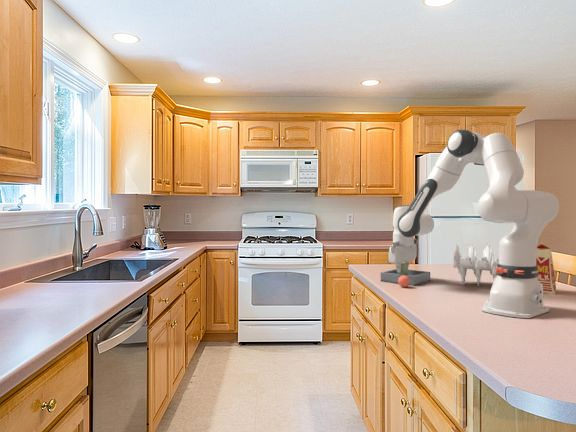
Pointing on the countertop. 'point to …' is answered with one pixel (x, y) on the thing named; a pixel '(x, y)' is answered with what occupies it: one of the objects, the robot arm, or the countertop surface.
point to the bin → (413, 275)
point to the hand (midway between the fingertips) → (402, 271)
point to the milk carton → (545, 269)
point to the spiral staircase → (475, 263)
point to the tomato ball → (404, 281)
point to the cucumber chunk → (404, 269)
